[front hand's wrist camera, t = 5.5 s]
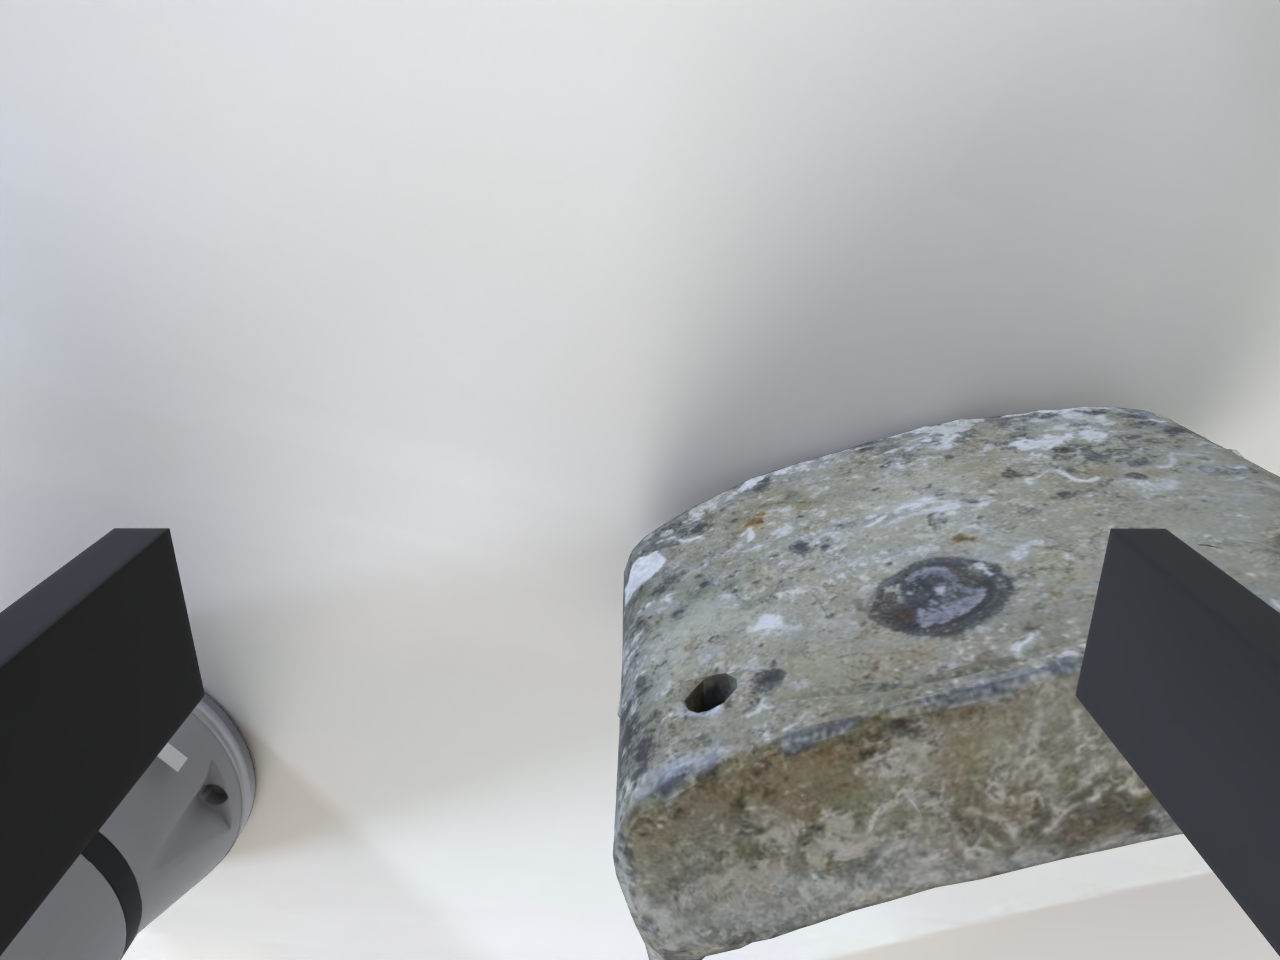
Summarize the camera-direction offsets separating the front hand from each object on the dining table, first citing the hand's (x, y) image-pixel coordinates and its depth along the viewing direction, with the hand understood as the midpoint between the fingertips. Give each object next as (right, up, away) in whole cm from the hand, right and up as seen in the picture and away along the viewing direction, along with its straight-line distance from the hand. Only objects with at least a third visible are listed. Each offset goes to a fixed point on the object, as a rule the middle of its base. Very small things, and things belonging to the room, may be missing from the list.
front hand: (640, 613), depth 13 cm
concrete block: (+12, 0, +31) cm, 33 cm away
